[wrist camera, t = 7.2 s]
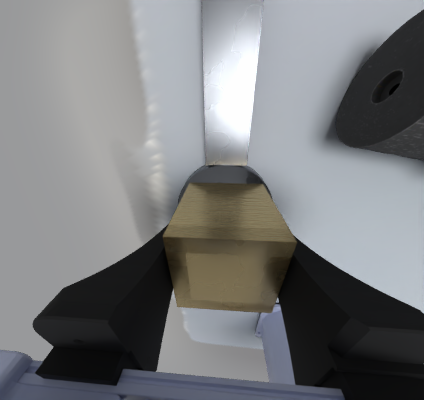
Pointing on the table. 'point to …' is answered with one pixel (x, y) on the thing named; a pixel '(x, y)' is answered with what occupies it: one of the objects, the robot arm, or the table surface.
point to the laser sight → (388, 97)
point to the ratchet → (229, 89)
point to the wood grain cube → (228, 248)
